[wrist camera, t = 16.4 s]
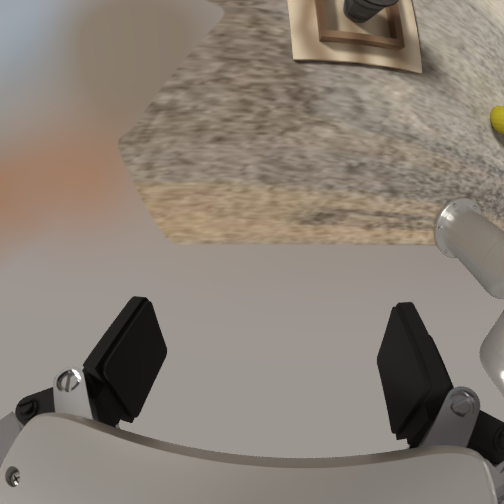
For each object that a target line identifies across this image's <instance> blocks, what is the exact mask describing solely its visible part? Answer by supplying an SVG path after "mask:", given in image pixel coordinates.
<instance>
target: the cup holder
mask: <svg viewBox="0 0 504 504" xmlns="http://www.w3.org/2000/svg"><path fill="white" fill-rule="evenodd" d="M343 4H344V0H288V8H289V17H290V27H291V38H292V50H293V60H311V61H334V62H347V63H358V64H367V65H375V66H382V67H388V68H394V69H400V70H405V71H410V72H415V73H419V74H420V73H422V64H421V55H420V47H419V40H418V33H417V27H416V22H415V17H414V12H413V7H412V3H411V0H399V1H398V2H397V3H396V4H394V5H392V6H389V7H386V8H384V9H383V10H381V11H380V12H379V13H377V14H376V15H375V16H373V17H372V18H371V19H369V20H367V21H366V22H364V23H356V22H353V21H351V20H349V19H348V18H347V17H346V16H345V15H344V12H343Z"/></svg>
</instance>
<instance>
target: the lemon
mask: <svg viewBox="0 0 504 504" xmlns="http://www.w3.org/2000/svg"><path fill="white" fill-rule="evenodd" d="M490 120H491V124H492V126H493V127H494V129H495V130H496V131H497V132H499V133H501V134H504V106H496V107H495V108H493V109H492V111H491V114H490Z"/></svg>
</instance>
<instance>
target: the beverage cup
mask: <svg viewBox="0 0 504 504" xmlns="http://www.w3.org/2000/svg"><path fill="white" fill-rule="evenodd" d="M398 1H399V0H344V4H343V12H344V15H345V16H346V17H347V18H348V19H349V20H351V21H353V22H356V23H364V22H366V21H367V20H369V19H371V18H372V17H373V16H375V15H376V14H377V13H379V12H380V11H381V10H383V9H384V8H386V7H389V6H392V5H394V4H396V3H397V2H398Z"/></svg>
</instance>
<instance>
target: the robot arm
mask: <svg viewBox="0 0 504 504" xmlns="http://www.w3.org/2000/svg"><path fill="white" fill-rule="evenodd" d="M434 238H435V242H436V245H437V247H438V248H439V250H440V251H441V252H442V253H443V254H444V255H446V256H448V257H451V258H458V259H459V260H460V261H461V262H462V263H463V264H464V266H465V267H466V268H467V269H468V270H469V271H470V272H471V274H472V275H473V276H474V277H475V278H476V279H477V280H478V282H479V283H480V284H481V285H482V286H483V287H484V289H485V290H486V291H487V292H488V293H489V294H490V295H491V296H493V297H495V298H499V299H504V231H502V230H501V229H500V228H498V227H497V226H496V225H494V224H493V223H491V222H490V221H489V220H487V219H486V218H484V217H483V216H482V213H481V210H480V208H479V206H478V205H477V204H476V203H475V202H474V201H472V200H471V199H469V198H466V197H459V198H455V199H453V200H451V201H450V202H448V203H447V204H446V205H445V206H444V207H443V209H442V210H441V211H440V213H439V215H438V217H437V220H436V223H435V228H434ZM166 355H167V347H166V344H165V342H164V339H163V336H162V333H161V330H160V327H159V324H158V321H157V318H156V315H155V312H154V308H153V305H152V303H151V302H150V301H149V300H148V299H147V298H146V297H136V296H134V297H132V298H131V300H130V301H129V302H128V303H127V304H126V306H125V307H124V308H123V310H122V311H121V312H120V314H119V315H118V316H117V318H116V319H115V321H114V322H113V323H112V324H111V326H110V327H109V329H108V330H107V331H106V333H105V334H104V335H103V337H102V338H101V340H100V341H99V342H98V344H97V345H96V347H95V348H94V349H93V351H92V352H91V354H90V355H89V356H88V358H87V359H86V361H85V362H84V364H83V366H84V369H83V370H82V371H81V370H80V369H79V368H77V367H68V368H66V369H63V370H62V371H60V372H59V373H58V374H57V375H56V377H55V379H54V382H53V387H52V388H49V389H46V390H43V391H41V392H38V393H35V394H32V395H29V396H27V397H25V398H23V399H22V400H21V401H20V402H19V403H18V405H17V407H16V411H15V413H14V412H11V413H10V414H8V415H7V416H5V417H4V418H3V419H1V420H0V504H504V422H502V421H500V420H498V419H496V418H494V417H492V416H491V415H489V414H487V413H485V412H483V411H481V410H480V401H479V398H478V396H477V394H476V393H475V392H474V391H473V390H471V389H469V388H467V387H456V388H454V387H453V385H452V382H451V380H450V377H449V375H448V372H447V370H446V368H445V365H444V363H443V361H442V358H441V356H440V354H439V351H438V349H437V347H436V345H435V343H434V341H433V338H432V337H431V336H430V335H429V334H428V332H427V330H426V328H425V326H424V324H423V322H422V320H421V318H420V316H419V314H418V312H417V310H416V308H415V306H414V304H413V303H412V302H404V303H398V304H397V305H396V307H393V308H392V311H391V314H390V318H389V321H388V325H387V328H386V331H385V334H384V338H383V341H382V344H381V347H380V350H379V353H378V356H377V365H378V369H379V373H380V377H381V382H382V386H383V391H384V395H385V400H386V405H387V410H388V415H389V420H390V426H391V431H392V433H393V434H395V433H396V438H397V440H400V439H406V438H407V442H408V444H409V445H408V447H407V449H404V450H398V451H391V452H384V453H377V454H368V455H358V456H348V457H332V458H272V457H257V456H246V455H237V454H228V453H221V452H214V451H208V450H202V449H197V448H191V447H186V446H181V445H177V444H172V443H168V442H164V441H160V440H156V439H152V438H148V437H145V436H141V435H138V434H135V433H131V432H128V431H125V430H121V429H120V427H119V424H118V423H119V421H120V419H121V420H123V421H126V422H130V423H132V422H133V420H134V418H135V417H138V415H139V414H140V412H141V409H142V407H143V405H144V403H145V400H146V398H147V396H148V394H149V392H150V390H151V387H152V385H153V383H154V381H155V379H156V377H157V375H158V372H159V370H160V368H161V366H162V364H163V362H164V360H165V358H166ZM480 360H481V363H482V365H483V367H484V369H485V371H486V372H487V374H488V375H489V376H490V378H491V380H492V381H493V382H494V384H495V385H496V386H497V387H498V389H499V391H500V392H501V393H502V395H503V396H504V311H503V312H502V314H501V316H500V317H499V319H498V320H497V322H496V323H495V325H494V326H493V328H492V329H491V330H490V332H489V333H488V335H487V337H486V338H485V339H484V341H483V343H482V345H481V348H480Z"/></svg>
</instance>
